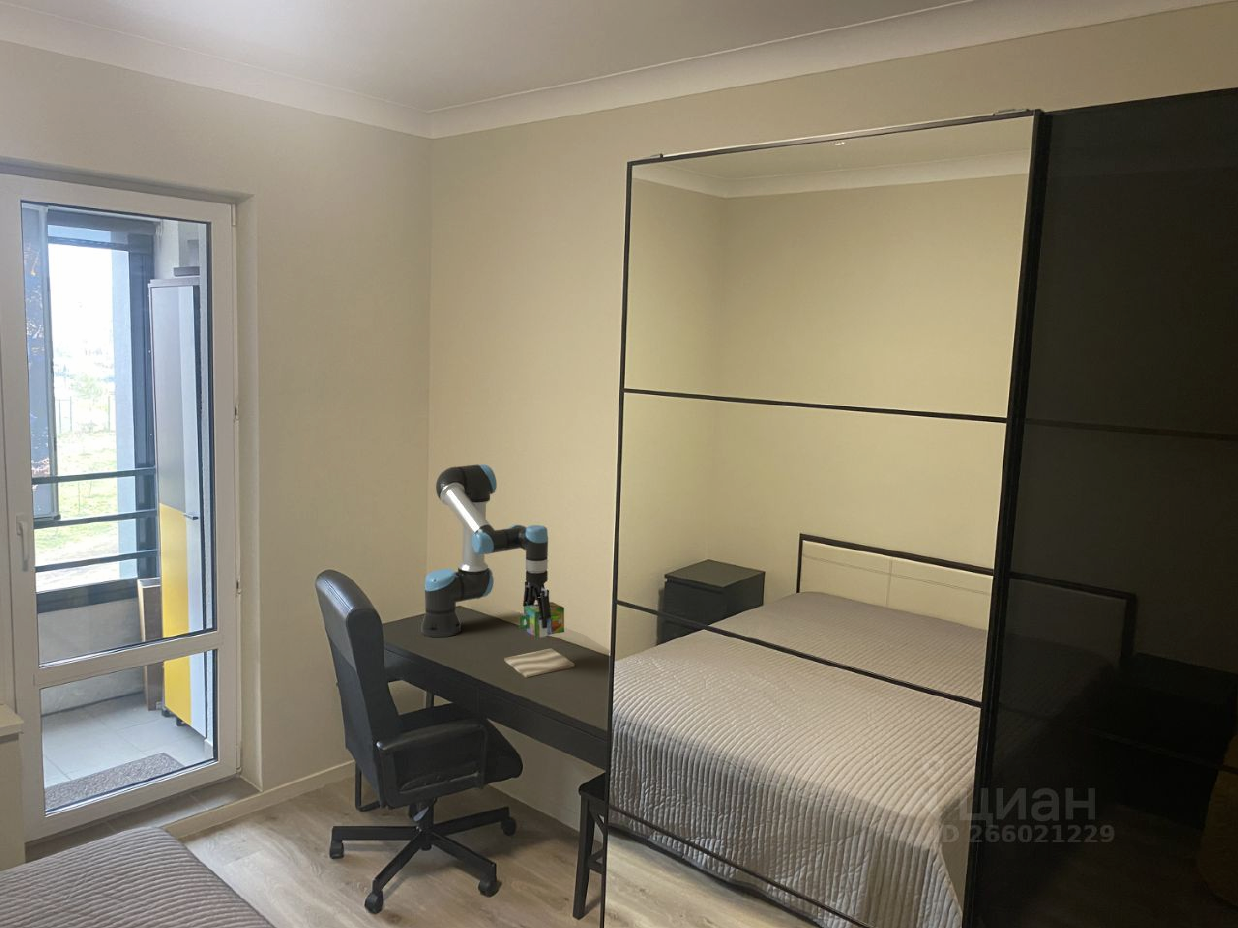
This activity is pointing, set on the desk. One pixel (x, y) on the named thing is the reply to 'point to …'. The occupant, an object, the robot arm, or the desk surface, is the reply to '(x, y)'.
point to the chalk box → (533, 615)
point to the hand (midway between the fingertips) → (536, 632)
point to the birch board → (538, 662)
